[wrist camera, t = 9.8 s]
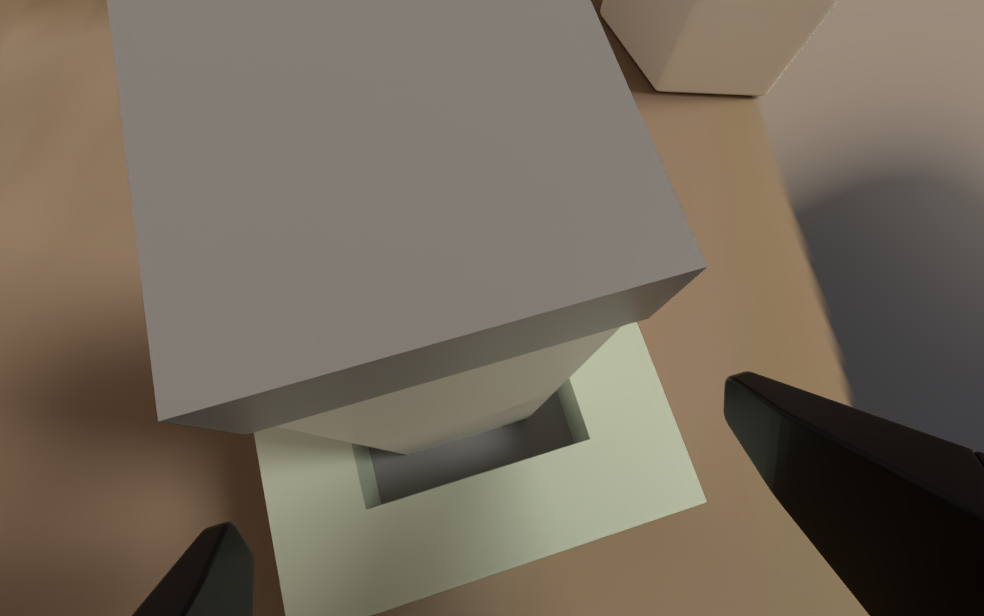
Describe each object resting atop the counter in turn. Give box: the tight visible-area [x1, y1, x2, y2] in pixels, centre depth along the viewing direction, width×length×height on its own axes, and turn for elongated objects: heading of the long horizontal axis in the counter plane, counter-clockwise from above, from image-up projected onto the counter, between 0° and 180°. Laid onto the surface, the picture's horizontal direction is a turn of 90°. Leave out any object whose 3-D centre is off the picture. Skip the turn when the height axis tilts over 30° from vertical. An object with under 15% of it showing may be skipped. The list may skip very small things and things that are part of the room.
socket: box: [254, 322, 707, 616], centre depth 17 cm, size 11×11×3 cm
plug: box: [107, 0, 707, 455], centre depth 11 cm, size 4×4×14 cm
